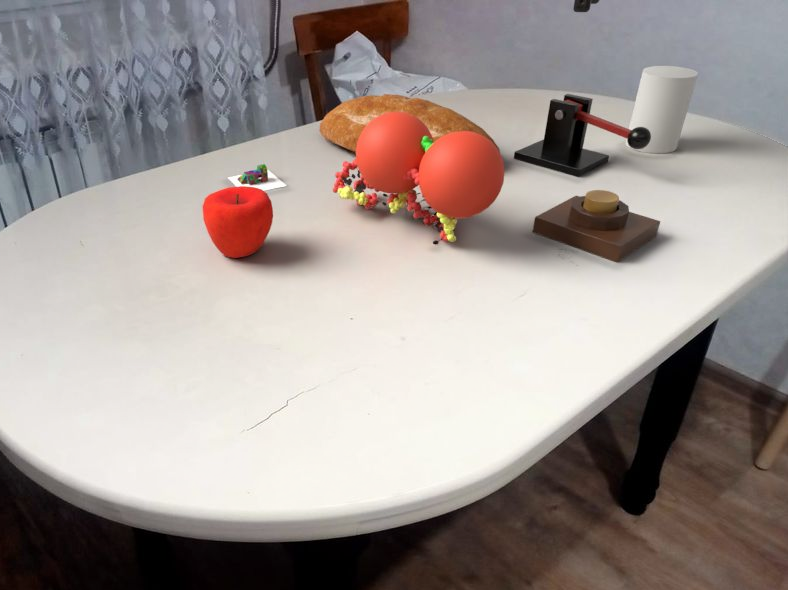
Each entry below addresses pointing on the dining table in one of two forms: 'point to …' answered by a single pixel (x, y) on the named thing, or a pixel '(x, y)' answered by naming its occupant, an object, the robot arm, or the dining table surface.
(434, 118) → the bread
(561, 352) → the dining table surface
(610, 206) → the bell button
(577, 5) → the robot arm
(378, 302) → the dining table surface
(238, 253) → the apple
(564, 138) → the lever base
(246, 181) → the white tray with figurine
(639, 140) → the red lever
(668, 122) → the cup
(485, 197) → the molecule
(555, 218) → the push button box
